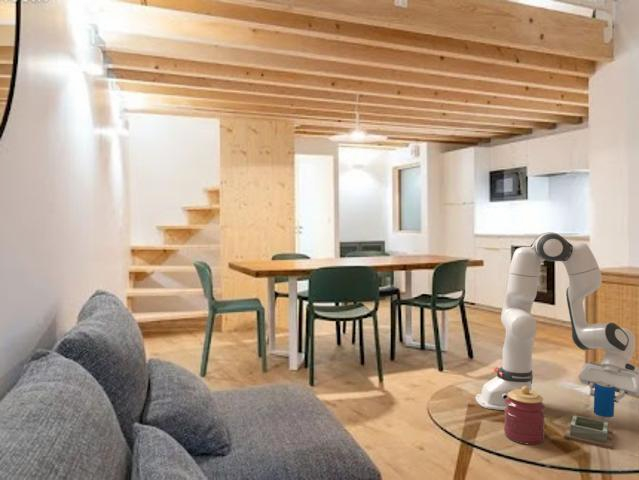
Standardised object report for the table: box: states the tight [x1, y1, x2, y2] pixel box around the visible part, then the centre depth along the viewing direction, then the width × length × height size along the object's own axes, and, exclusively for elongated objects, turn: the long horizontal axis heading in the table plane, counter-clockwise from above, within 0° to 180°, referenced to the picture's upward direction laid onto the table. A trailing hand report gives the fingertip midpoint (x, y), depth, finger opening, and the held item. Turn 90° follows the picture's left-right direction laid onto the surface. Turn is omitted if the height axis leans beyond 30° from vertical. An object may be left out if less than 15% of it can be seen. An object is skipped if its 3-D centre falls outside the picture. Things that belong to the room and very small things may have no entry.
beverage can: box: [593, 381, 616, 419], centre depth 181 cm, size 6×6×12 cm
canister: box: [503, 386, 547, 445], centre depth 170 cm, size 13×13×18 cm
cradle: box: [564, 414, 614, 450], centre depth 171 cm, size 14×14×4 cm
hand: (603, 398), depth 181 cm, fingers closed on beverage can, 6 cm apart
